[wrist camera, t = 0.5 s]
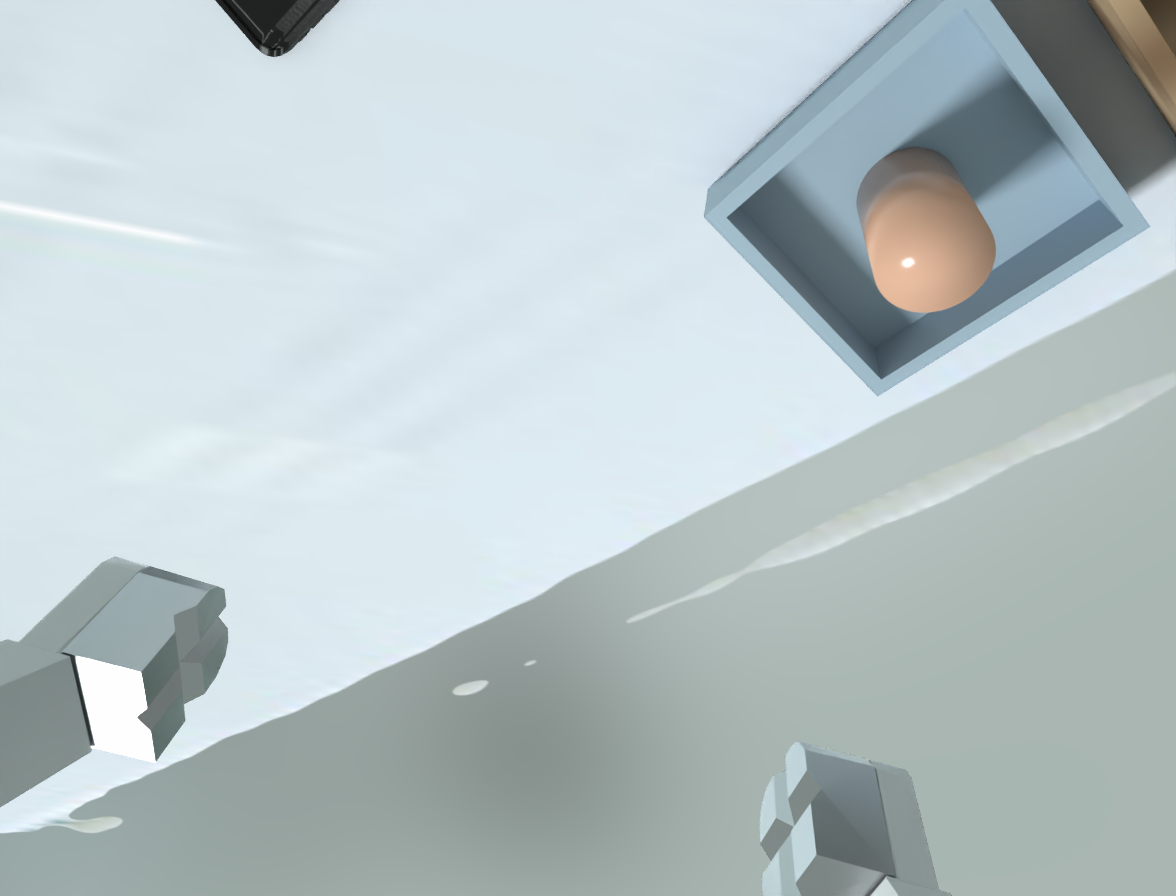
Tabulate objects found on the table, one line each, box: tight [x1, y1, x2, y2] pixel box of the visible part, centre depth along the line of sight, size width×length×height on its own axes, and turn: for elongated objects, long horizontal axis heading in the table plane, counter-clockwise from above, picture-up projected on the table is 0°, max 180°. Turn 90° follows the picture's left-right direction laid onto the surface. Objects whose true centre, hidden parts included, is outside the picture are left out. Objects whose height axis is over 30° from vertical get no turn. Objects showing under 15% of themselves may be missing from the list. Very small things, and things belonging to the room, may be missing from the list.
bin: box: [704, 0, 1150, 396], centre depth 39 cm, size 15×15×4 cm
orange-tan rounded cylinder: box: [856, 147, 996, 313], centre depth 37 cm, size 5×5×8 cm
